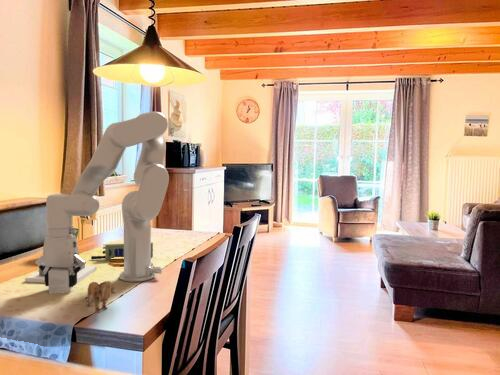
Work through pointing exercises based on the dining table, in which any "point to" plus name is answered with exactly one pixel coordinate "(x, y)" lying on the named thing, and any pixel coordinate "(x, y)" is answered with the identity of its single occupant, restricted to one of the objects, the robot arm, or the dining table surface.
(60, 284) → the product box
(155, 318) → the dining table surface
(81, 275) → the dock
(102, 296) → the lion figurine
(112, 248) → the handheld radio
